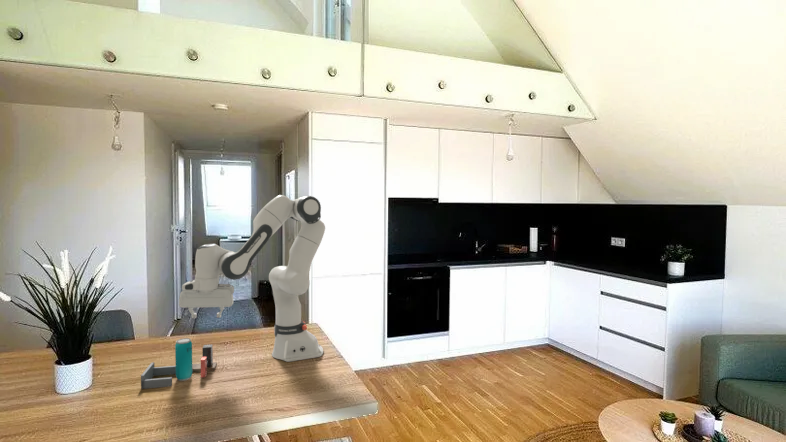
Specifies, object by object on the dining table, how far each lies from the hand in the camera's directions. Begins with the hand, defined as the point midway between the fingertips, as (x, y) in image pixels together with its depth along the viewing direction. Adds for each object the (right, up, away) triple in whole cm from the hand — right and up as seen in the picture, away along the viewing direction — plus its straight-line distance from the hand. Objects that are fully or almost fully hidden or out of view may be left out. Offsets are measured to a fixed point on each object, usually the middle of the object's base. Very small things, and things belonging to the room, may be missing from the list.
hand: (206, 317), depth 167 cm
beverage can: (-5, -22, -9) cm, 24 cm away
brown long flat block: (-5, -21, 0) cm, 21 cm away
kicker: (+1, -21, -3) cm, 21 cm away
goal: (-12, -22, -11) cm, 27 cm away
